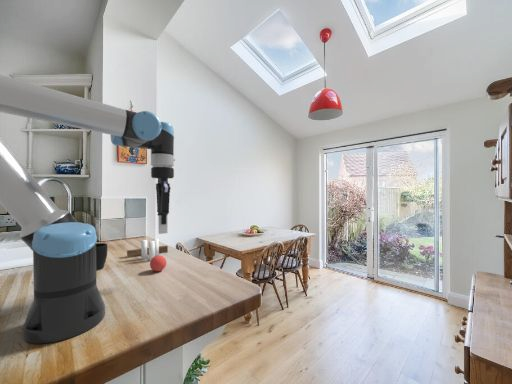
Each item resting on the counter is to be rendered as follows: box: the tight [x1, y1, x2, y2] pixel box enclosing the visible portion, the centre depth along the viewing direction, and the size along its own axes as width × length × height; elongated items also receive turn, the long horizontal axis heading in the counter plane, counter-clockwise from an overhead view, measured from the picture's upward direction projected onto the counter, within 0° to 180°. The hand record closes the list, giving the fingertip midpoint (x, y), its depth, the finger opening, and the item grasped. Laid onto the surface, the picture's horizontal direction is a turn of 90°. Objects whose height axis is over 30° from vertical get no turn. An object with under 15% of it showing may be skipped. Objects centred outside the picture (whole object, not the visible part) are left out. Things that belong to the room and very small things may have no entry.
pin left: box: [140, 239, 148, 261], centre depth 108 cm, size 2×2×8 cm
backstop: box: [126, 245, 169, 259], centre depth 116 cm, size 2×18×3 cm, turn 122°
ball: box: [149, 254, 167, 272], centre depth 92 cm, size 6×6×6 cm
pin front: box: [148, 240, 155, 262], centre depth 106 cm, size 2×2×8 cm
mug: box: [96, 242, 108, 272], centre depth 96 cm, size 8×12×10 cm
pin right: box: [152, 238, 160, 256], centre depth 111 cm, size 2×2×8 cm
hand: (163, 233), depth 84 cm, fingers closed
